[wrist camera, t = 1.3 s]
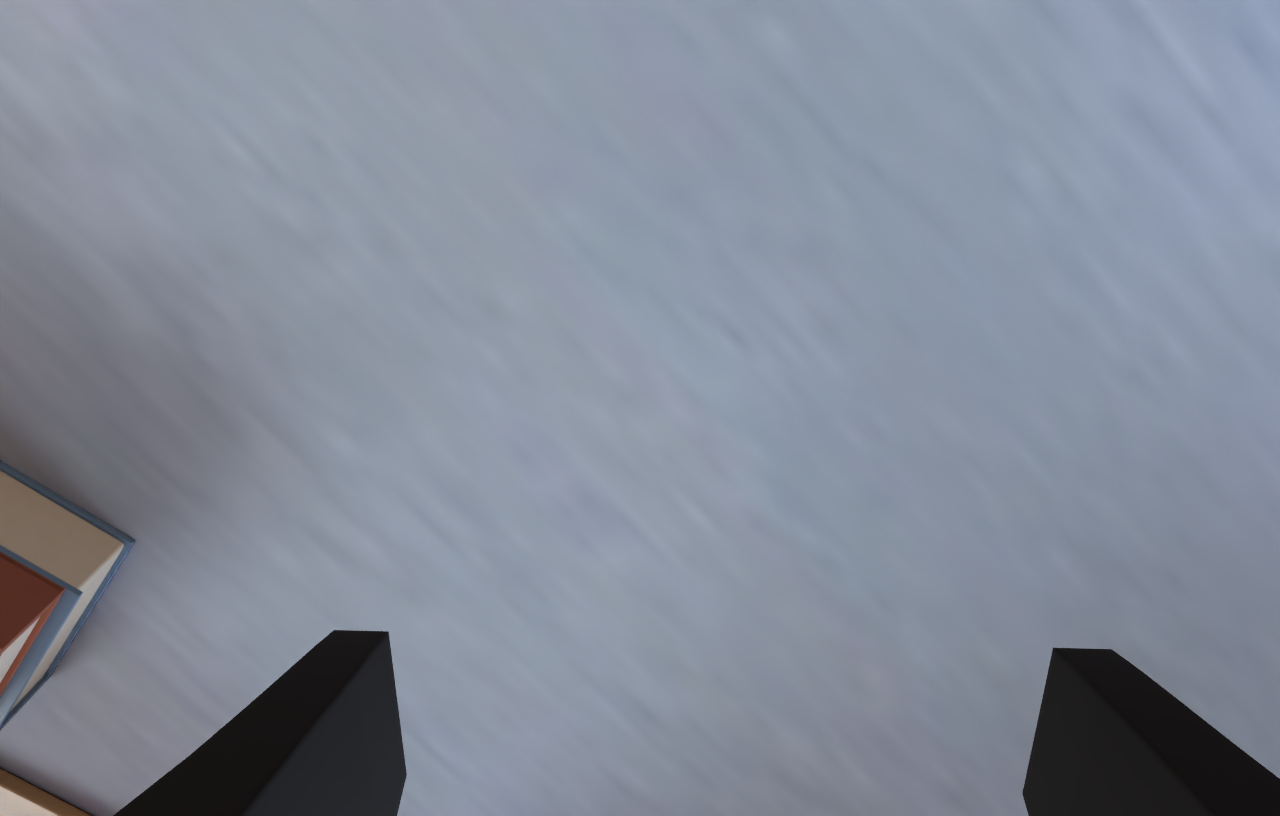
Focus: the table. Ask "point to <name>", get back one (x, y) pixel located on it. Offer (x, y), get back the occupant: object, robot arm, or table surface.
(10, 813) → the cork mat
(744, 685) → the table surface
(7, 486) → the book stack
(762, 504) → the table surface
